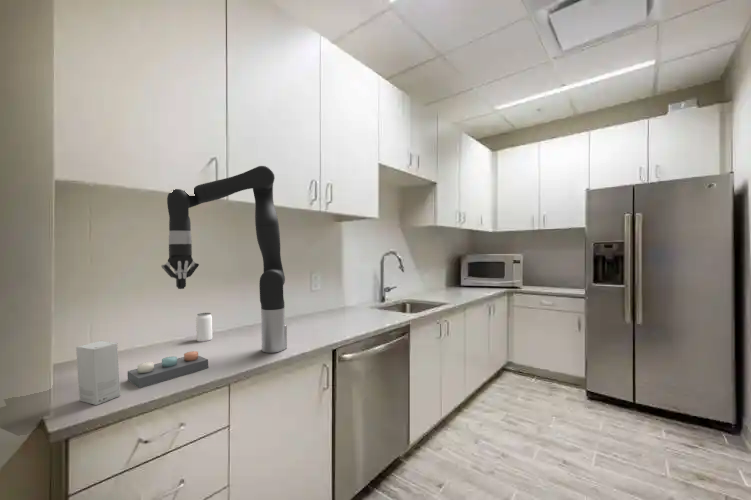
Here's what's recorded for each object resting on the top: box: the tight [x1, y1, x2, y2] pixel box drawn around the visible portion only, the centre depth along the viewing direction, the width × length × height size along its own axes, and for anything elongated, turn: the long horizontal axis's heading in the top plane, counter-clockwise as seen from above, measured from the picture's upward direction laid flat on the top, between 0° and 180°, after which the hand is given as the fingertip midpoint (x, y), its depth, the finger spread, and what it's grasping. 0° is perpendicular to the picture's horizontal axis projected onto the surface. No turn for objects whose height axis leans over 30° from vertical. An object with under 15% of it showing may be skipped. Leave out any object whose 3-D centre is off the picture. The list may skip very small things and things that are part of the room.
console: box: [127, 355, 209, 389], centre depth 114 cm, size 21×10×3 cm, turn 143°
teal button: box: [161, 355, 178, 367], centre depth 114 cm, size 4×4×2 cm
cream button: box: [136, 361, 155, 373], centre depth 109 cm, size 4×4×2 cm
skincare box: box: [75, 340, 121, 406], centre depth 96 cm, size 8×7×16 cm
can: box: [195, 312, 213, 343], centre depth 155 cm, size 6×6×12 cm
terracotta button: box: [183, 350, 199, 361], centre depth 120 cm, size 4×4×2 cm
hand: (181, 288), depth 128 cm, fingers closed
